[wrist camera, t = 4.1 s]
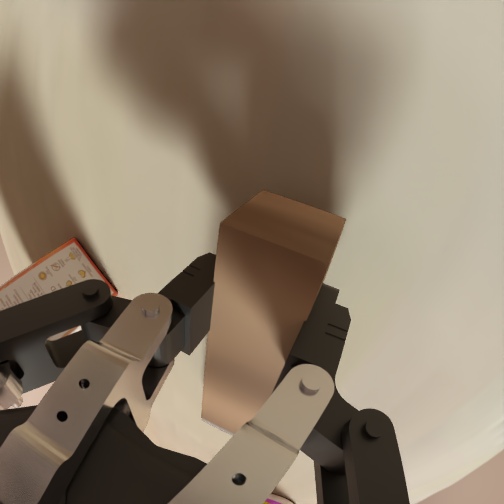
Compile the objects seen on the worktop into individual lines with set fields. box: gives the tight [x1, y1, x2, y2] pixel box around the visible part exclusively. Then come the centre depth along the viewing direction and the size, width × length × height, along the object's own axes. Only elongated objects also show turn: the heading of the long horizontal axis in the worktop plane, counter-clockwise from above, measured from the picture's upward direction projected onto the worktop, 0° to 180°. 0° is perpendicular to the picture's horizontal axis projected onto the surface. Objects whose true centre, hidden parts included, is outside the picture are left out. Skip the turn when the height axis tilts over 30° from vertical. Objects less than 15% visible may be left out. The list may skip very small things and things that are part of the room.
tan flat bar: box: [201, 190, 346, 436], centre depth 14 cm, size 18×5×3 cm, turn 169°
